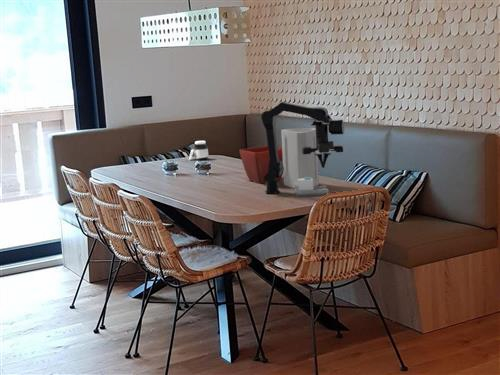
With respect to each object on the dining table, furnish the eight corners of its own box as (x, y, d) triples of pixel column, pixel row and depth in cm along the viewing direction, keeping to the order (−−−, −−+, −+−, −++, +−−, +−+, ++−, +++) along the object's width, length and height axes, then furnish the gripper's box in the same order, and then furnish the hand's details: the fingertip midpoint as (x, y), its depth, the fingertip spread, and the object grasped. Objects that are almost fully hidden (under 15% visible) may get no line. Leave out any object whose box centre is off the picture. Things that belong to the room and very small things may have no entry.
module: (297, 191, 368) (297, 177, 367) (312, 190, 368) (311, 176, 367) (298, 193, 363) (298, 179, 362) (313, 192, 363) (313, 178, 362)
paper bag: (326, 186, 381) (324, 130, 375) (299, 190, 375) (297, 133, 370) (309, 181, 398) (307, 127, 393) (283, 184, 393) (280, 129, 387)
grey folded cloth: (294, 192, 371) (294, 184, 370) (325, 190, 371) (325, 182, 370) (296, 196, 361) (296, 188, 360) (328, 194, 361) (328, 186, 361)
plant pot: (240, 180, 411) (238, 149, 408) (271, 176, 419) (270, 145, 416) (257, 185, 394) (255, 152, 391) (289, 180, 403) (288, 148, 400)
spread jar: (210, 159, 492) (209, 141, 490) (194, 161, 487) (193, 143, 484) (201, 157, 502) (200, 140, 500) (186, 159, 497) (184, 141, 495)
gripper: (303, 138, 353) (305, 171, 356) (344, 135, 353) (345, 169, 356) (301, 135, 364) (302, 167, 367) (340, 132, 364) (341, 165, 367)
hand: (323, 167), depth 364 cm, fingers closed
